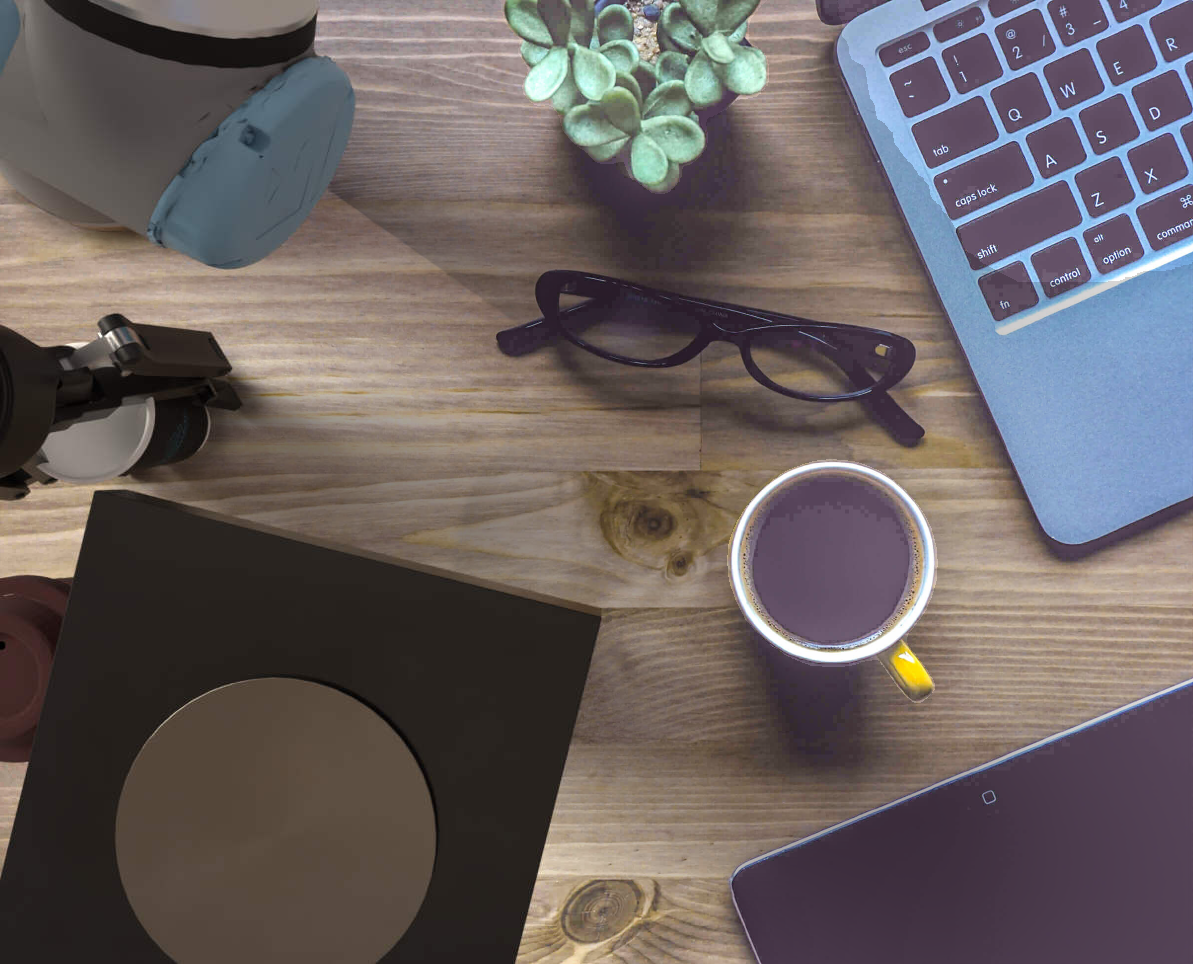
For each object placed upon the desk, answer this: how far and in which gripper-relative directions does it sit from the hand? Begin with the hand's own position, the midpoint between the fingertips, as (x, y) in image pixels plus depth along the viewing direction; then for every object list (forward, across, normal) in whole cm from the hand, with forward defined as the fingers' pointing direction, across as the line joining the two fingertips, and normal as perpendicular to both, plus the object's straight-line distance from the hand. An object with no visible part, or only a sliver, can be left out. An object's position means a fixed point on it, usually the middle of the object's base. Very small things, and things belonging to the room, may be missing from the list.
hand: (173, 423), depth 60 cm
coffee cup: (0, -9, -11) cm, 14 cm away
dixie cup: (0, 0, 0) cm, 0 cm away
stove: (-28, +7, -23) cm, 37 cm away
